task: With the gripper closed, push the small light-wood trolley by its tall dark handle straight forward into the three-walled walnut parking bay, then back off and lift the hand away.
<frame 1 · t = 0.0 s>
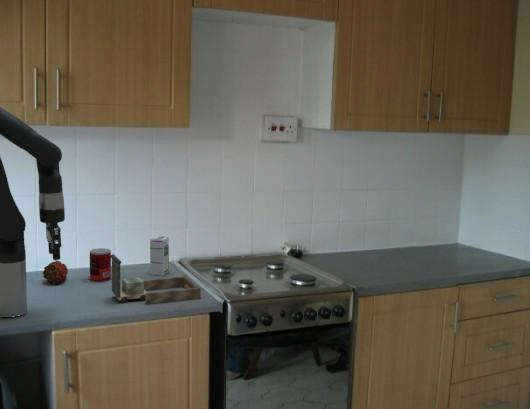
hand: (54, 256, 204), 17 cm above the worktop, tool pointing down, fingers open, 8 cm apart
trolley: (129, 277, 217), point 8 cm above the worktop, slide at 0.0 cm
canned food: (100, 279, 242), on the worktop
dragon fruit: (55, 282, 237), on the worktop
syrup box: (159, 274, 252), on the worktop
parking bay: (164, 296, 223), on the worktop
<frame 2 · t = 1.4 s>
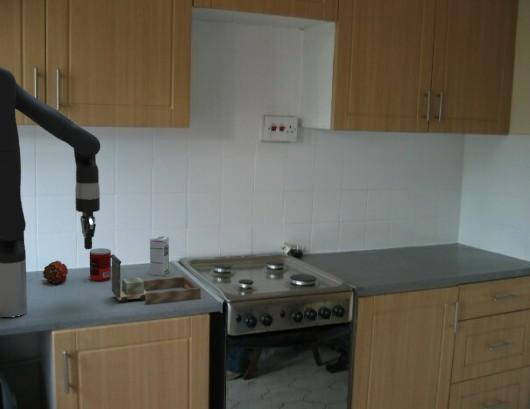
hand: (88, 248, 209), 19 cm above the worktop, tool pointing down, fingers closed
nothing on the worktop moved.
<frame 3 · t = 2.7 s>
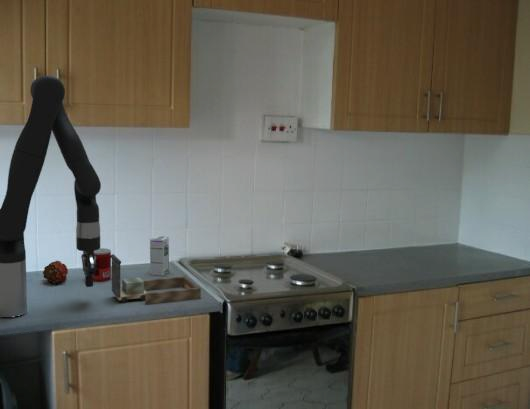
hand: (89, 286, 211), 6 cm above the worktop, tool pointing down, fingers closed
nothing on the worktop moved.
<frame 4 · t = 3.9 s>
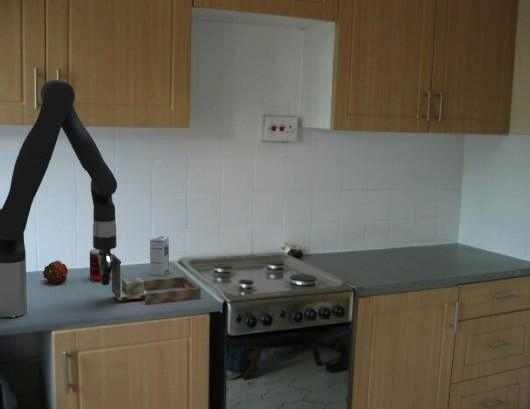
hand: (105, 284, 213), 6 cm above the worktop, tool pointing down, fingers closed
nothing on the worktop moved.
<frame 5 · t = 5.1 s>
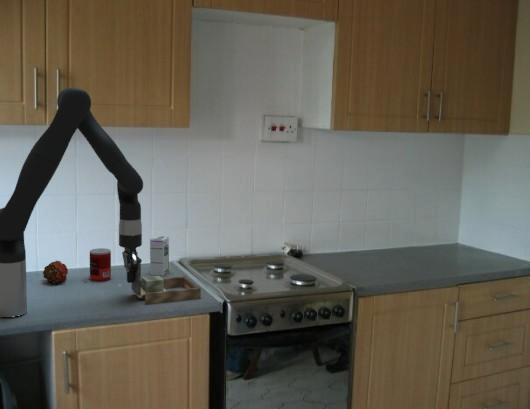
hand: (130, 282, 217), 6 cm above the worktop, tool pointing down, fingers closed
trolley: (149, 275, 220), point 8 cm above the worktop, slide at 6.9 cm, touching hand
everything else where it was.
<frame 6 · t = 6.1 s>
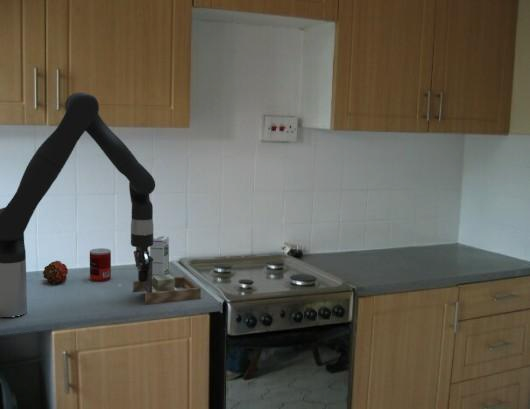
hand: (142, 281, 219), 6 cm above the worktop, tool pointing down, fingers closed
trolley: (160, 274, 221), point 8 cm above the worktop, slide at 10.8 cm, touching hand
everything else where it was.
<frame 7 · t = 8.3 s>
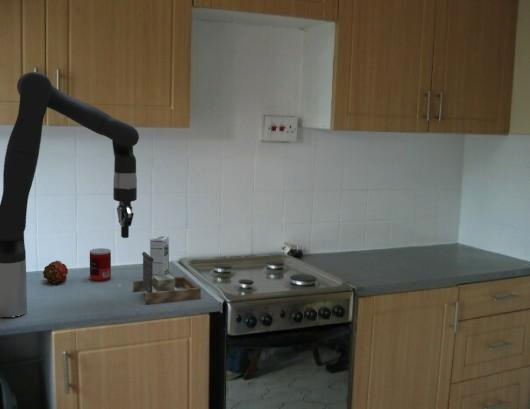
hand: (124, 237, 214), 22 cm above the worktop, tool pointing down, fingers closed
trolley: (160, 274, 221), point 8 cm above the worktop, slide at 10.9 cm
everything else where it was.
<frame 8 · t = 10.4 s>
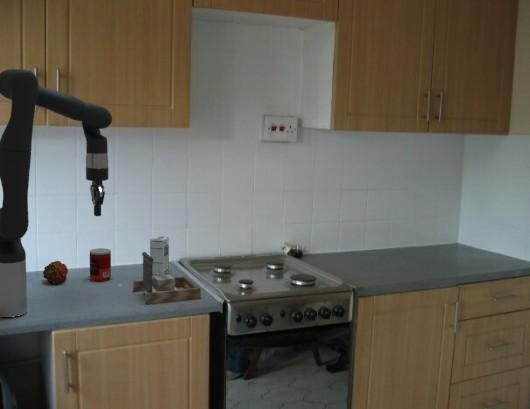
hand: (97, 215, 223), 27 cm above the worktop, tool pointing down, fingers closed
nothing on the worktop moved.
at the end: trolley slide at 10.9 cm; the gripper is holding nothing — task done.
